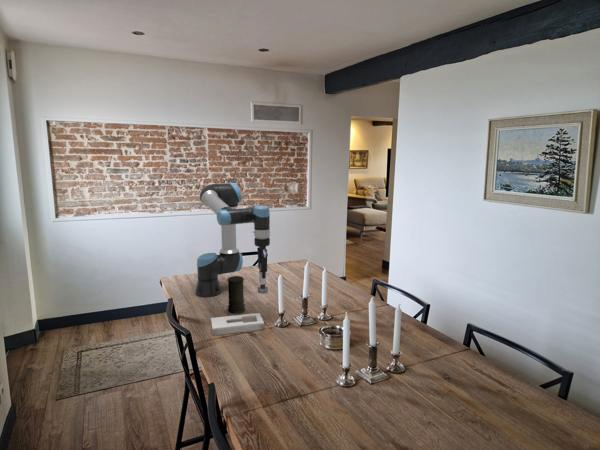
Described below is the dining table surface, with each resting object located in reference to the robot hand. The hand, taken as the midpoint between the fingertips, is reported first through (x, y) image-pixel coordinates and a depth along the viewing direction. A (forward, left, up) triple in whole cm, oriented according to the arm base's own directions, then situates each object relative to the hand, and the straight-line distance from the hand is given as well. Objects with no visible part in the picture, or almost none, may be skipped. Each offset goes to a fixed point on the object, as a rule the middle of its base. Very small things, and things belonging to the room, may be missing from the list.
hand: (262, 283), depth 197 cm
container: (-13, -12, -19) cm, 26 cm away
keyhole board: (+7, -14, -19) cm, 24 cm away
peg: (0, 0, -4) cm, 4 cm away
